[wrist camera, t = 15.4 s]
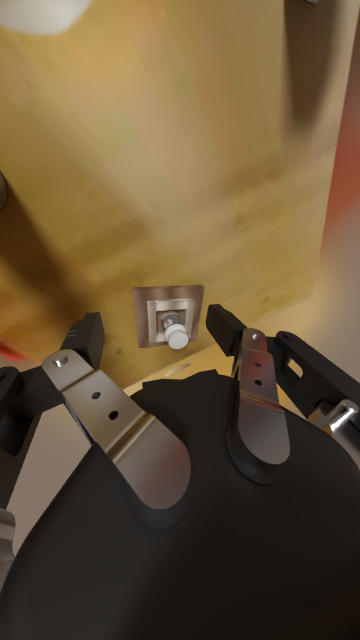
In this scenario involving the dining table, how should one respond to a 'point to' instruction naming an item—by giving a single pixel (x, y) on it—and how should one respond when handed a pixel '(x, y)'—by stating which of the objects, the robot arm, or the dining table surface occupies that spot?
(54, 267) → the dining table surface
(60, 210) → the dining table surface
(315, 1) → the coffee box
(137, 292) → the socket block
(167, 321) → the pill bottle
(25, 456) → the robot arm
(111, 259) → the dining table surface
